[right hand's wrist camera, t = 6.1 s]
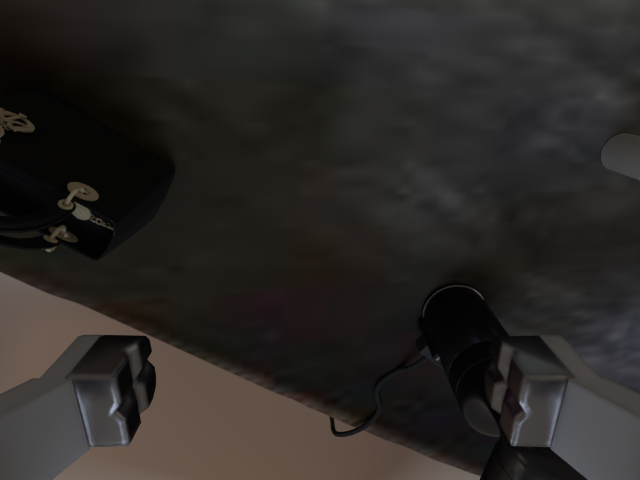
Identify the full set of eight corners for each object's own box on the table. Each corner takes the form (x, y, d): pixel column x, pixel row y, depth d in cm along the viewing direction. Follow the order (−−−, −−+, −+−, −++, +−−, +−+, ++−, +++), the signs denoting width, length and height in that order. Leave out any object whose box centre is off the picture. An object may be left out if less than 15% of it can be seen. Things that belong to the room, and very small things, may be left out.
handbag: (184, 172, 57) (91, 242, 34) (155, 226, 60) (50, 325, 37) (33, 82, 53) (-192, 92, 30) (9, 145, 56) (-213, 198, 33)
